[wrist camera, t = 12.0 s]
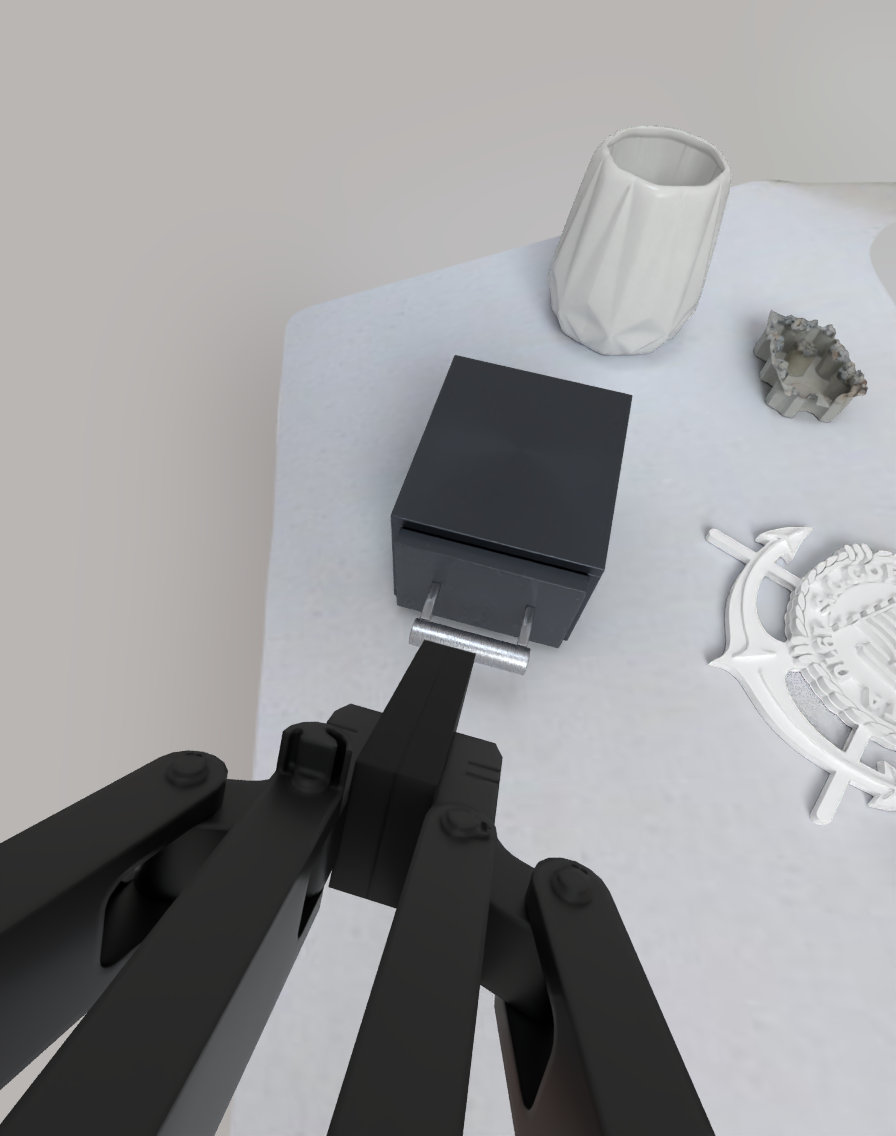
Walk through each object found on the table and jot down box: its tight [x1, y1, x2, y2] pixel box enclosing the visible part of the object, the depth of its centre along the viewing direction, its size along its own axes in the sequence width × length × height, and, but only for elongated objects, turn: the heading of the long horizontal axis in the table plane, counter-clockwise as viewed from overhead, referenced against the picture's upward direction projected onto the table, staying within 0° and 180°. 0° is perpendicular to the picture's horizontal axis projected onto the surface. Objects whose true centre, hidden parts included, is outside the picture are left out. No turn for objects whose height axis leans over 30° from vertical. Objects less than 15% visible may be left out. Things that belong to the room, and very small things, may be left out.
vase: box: [548, 125, 732, 355], centre depth 54 cm, size 14×14×15 cm
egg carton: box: [754, 310, 868, 422], centre depth 56 cm, size 11×8×4 cm
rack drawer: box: [395, 528, 589, 675], centre depth 41 cm, size 18×11×8 cm, turn 165°
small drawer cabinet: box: [391, 355, 632, 640], centre depth 43 cm, size 15×13×10 cm
